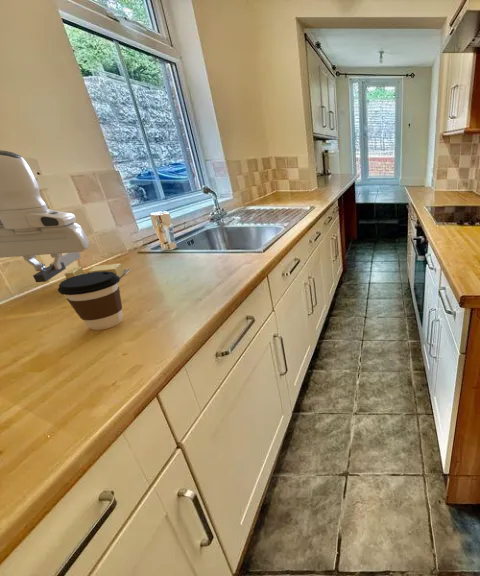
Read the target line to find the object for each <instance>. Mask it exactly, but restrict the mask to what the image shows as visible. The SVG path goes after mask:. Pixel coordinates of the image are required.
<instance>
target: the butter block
mask: <svg viewBox="0 0 480 576" xmlns="http://www.w3.org/2000/svg"><path fill="white" fill-rule="evenodd" d="M124 270H125V269H124V267H123V264H122V263H111V264H101V265H95V266H93V267H92V268H90V269H89V270H88V271H87V273H92V272H101V271H108V272H113V273H115V274H116V275H117V276H119V278H120V277H121V276H122V275H123V274H124Z"/></svg>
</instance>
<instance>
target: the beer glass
mask: <svg viewBox="0 0 480 576" xmlns="http://www.w3.org/2000/svg"><path fill="white" fill-rule="evenodd" d="M149 216H150V220H151V225H152V228H153V230H154V232H155V234H156V236H157V238H158V240H159V243H160V250H161V251H172V250H177V249H178V248H179V247H178V244H177V242H176V239H175V231H174V230H175V229H174V224H173V220H172V218H171V215H170V211H155V212H152V213H150V214H149Z"/></svg>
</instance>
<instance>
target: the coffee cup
mask: <svg viewBox="0 0 480 576" xmlns="http://www.w3.org/2000/svg"><path fill="white" fill-rule="evenodd" d="M120 280H121V279H120V278H119V276H117V275H116V274H115V273H113V272H108V271H101V272H92V273H88V272H87V273H86V272H85V273H84V274H81V275H77V276H74V277H71V278H68V279H67V278H66V279H64V280H62V281H61V282H60V283H59V284H58V288H57V292H58V293H59V294H60V295H64V296H65V297H66V300H67V301H68V304H69V305H70V306H71V307H72V309H73V310H74V311H75V313H76V314H77V316H78V317H79V318H80V319H81V320H82V321H83V322H84V323H85V326H86V327H88V328H89V329H91V330H92V331H102V330H107V329H111V328H113V327H116V326H117V325H120V324H121V323H122V322H123V304H122V303H123V302H122V297H121V291H120V286H119V284H118V283H120Z"/></svg>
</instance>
